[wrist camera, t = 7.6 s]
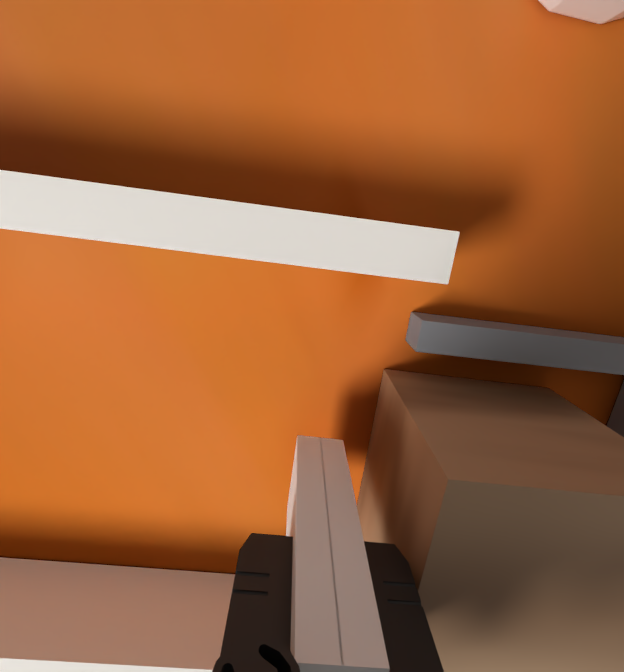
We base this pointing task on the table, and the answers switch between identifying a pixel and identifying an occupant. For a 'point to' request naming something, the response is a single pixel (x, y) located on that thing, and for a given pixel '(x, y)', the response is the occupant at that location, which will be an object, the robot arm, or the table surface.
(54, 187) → the cubby
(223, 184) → the table surface
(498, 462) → the walnut cube
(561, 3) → the white cup
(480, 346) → the grey bracket
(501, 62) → the table surface
